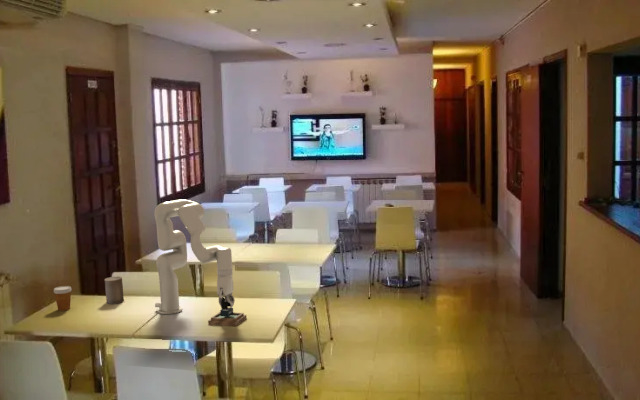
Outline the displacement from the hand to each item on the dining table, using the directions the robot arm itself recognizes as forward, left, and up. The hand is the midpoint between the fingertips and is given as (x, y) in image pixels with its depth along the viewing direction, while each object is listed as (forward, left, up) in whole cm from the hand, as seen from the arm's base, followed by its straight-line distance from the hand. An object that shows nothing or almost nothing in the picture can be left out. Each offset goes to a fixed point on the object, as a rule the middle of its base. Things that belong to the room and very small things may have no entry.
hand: (226, 307), depth 370 cm
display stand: (0, 0, -7) cm, 7 cm away
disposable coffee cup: (-101, +5, -8) cm, 101 cm away
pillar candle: (-81, +24, -8) cm, 85 cm away
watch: (0, 0, -4) cm, 4 cm away
